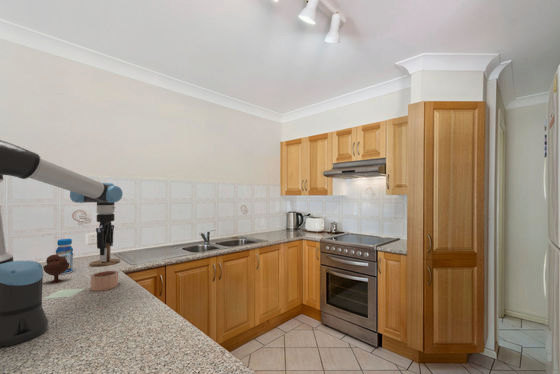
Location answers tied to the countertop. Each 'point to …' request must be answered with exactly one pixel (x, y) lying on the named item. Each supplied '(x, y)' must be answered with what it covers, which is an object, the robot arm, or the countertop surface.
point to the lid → (108, 262)
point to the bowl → (104, 280)
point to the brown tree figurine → (56, 266)
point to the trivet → (64, 293)
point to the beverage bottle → (66, 252)
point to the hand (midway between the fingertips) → (105, 260)
